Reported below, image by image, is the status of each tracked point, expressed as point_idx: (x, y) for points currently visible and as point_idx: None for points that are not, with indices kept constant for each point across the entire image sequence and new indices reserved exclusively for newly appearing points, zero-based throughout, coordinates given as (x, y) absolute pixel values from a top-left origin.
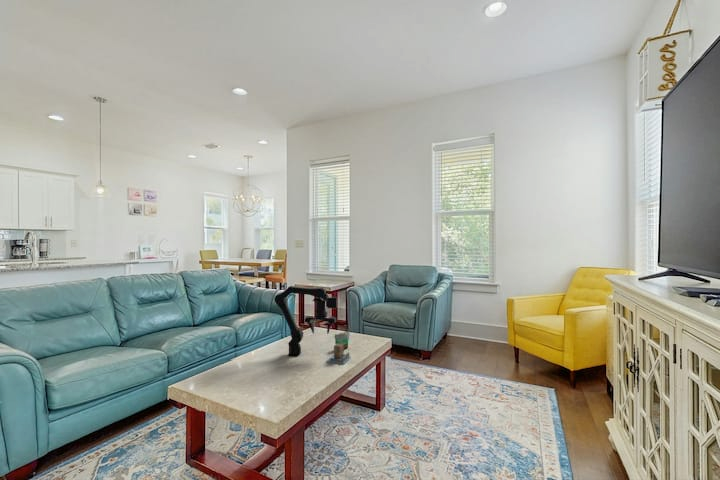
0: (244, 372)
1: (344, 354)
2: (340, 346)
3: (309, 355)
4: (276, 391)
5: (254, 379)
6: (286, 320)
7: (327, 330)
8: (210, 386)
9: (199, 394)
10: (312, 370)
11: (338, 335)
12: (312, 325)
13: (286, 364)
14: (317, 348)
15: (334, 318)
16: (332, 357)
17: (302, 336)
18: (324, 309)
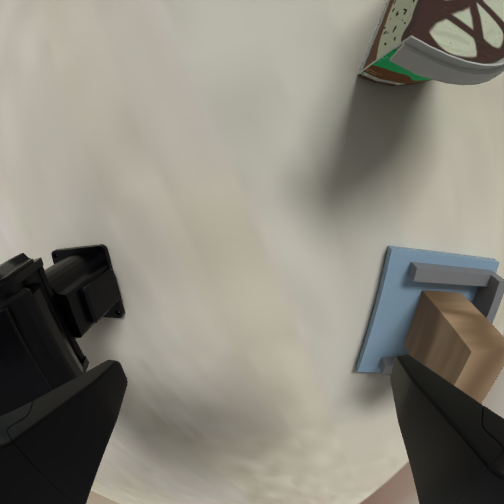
0: None
1: (473, 277)
2: (481, 402)
3: (187, 278)
4: None
5: (146, 482)
6: None
7: (411, 453)
8: (96, 484)
9: (112, 499)
10: (304, 448)
11: (462, 66)
12: (61, 493)
13: (148, 411)
14: (177, 95)
15: None
16: (390, 312)
17: (41, 341)
18: None
